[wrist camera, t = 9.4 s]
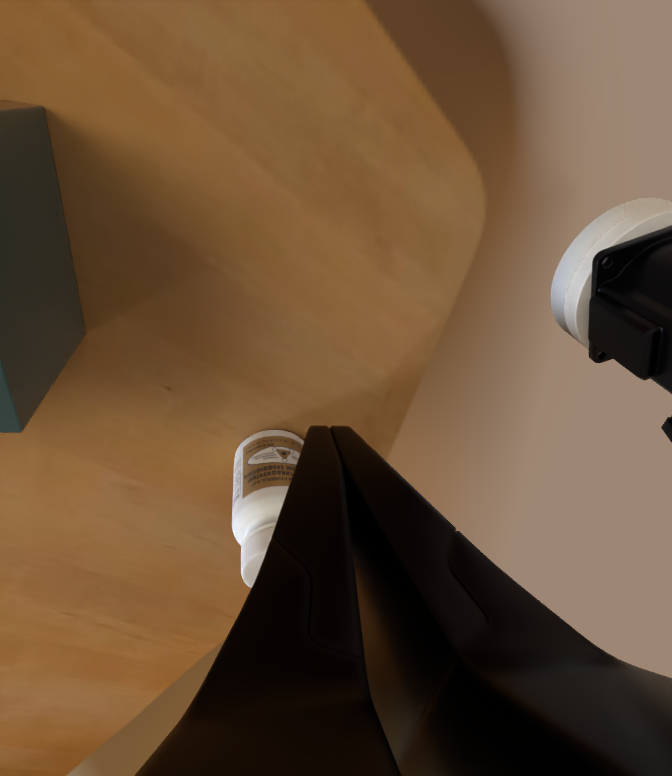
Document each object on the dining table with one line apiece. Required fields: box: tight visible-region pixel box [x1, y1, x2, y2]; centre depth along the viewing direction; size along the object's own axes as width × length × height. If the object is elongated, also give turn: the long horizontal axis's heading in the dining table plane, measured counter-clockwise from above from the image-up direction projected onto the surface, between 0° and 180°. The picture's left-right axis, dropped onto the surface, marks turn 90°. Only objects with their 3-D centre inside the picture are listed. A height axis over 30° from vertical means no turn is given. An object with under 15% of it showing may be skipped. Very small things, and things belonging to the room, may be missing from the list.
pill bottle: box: [232, 430, 304, 588], centre depth 23 cm, size 4×4×8 cm
